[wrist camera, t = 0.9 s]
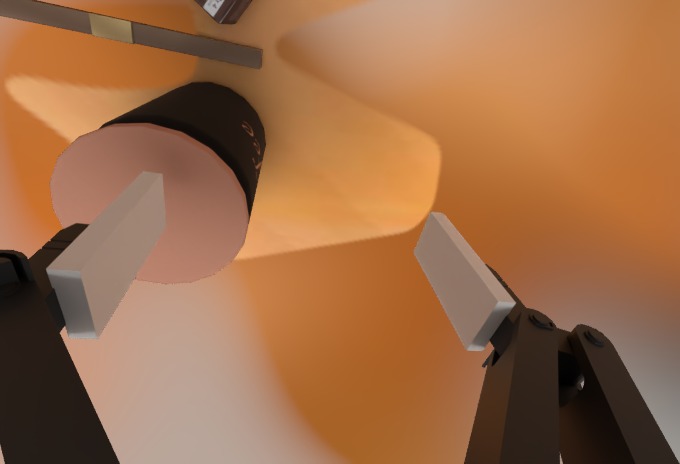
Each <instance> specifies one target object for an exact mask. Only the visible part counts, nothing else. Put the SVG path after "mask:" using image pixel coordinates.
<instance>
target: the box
mask: <svg viewBox="0 0 680 464" xmlns="http://www.w3.org/2000/svg"><path fill="white" fill-rule="evenodd" d="M195 1H196V2H197V3H198V4H199V5H200V6H201V7H202V8H203V9H204V10H205V11H206V12H207V13H208V14H209V15H210V16H211V17H212V18H213V19H214V20H215V21H216V22H217V23H219V24H235V23H236V22H237V20H238V19H239V18H240V16H241V15H242V13H243V12H244V10H245V9H246V8H247V6H248V5H249V4H250V3H251V1H252V0H195Z"/></svg>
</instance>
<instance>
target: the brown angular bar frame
mask: <svg viewBox="0 0 680 464" xmlns="http://www.w3.org/2000/svg"><path fill="white" fill-rule="evenodd" d="M0 16H4V17H9V18H14V19H18V20H23V21H28V22H33V23H38V24H43V25H48V26H53V27H58V28H62V29H67V30H72V31H78V32H82V33H87V34H92V35H93V36H96V37H101V38H107V39H111V40H116V41H121V42H126V43H130V44H134V43H136V44H141V45H145V46H151V47H155V48H160V49H165V50H170V51H175V52H179V53H184V54H190V55H194V56H199V57H204V58H209V59H214V60H218V61H223V62H228V63H233V64H238V65H243V66H248V67H253V68H258V69H260V68H261V67H262V51H263V50H261V49H257V48H252V47H248V46H243V45H238V44H234V43H229V42H225V41H220V40H216V39H211V38H206V37H202V36H197V35H192V34H188V33H183V32H178V31H174V30H170V29H165V28H161V27H156V26H151V25H147V24H142V23H137V22H133V21H128V20H124V19H119V18H115V17H110V16H105V15H101V14H96V13H92V12H87V11H83V10H78V9H73V8H69V7H64V6H60V5H55V4H50V3H46V2H41V1H37V0H0Z"/></svg>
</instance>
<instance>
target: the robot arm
mask: <svg viewBox="0 0 680 464" xmlns="http://www.w3.org/2000/svg"><path fill="white" fill-rule="evenodd" d="M165 228H166V214H165V201H164V188H163V175H162V174H160V173H153V172H146V171H143V172H142V173H141V174H140V175H139V176H138V177H137V178H136V179H135V180H134V181H133V182H132V183H131V184H130V185H129V186H128V187H127V188H126V189H125V190H124V191H123V192H122V193H121V194H120V195H119V196H118V197H117V198H116V199H115V200H114V201H113V202H112V203H111V204H110V205H109V206H108V207H107V208H106V209H105V210H104V211H103V212H102V213H101V214H100V215H99V216H98V217H97V218H96V219H95V220H94V221H93V222H92V223H91V224H81V223H75V224H73V225H71V226H69V227H67V228H64V229H62V230H60V231H59V232H58V233H57V234H56V235H55V236H54V237H53V238H52V239H51V241H48V242H47V243H46V244H45V245H44V246H43V247H42V249H40V250H38V251H37V252H36V253H35V254H34V255H33V256H32V257H31V258H29V259H27V257H26V256H25V255H24V254H23V253H22V252H18V251H14V250H0V445H1V450H2V453H3V457H4V461H5V464H120V463H119V461H118V459H117V456H116V454H115V452H114V450H113V448H112V446H111V443H110V441H109V439H108V437H107V435H106V432H105V430H104V428H103V426H102V424H101V422H100V420H99V418H98V415H97V413H96V411H95V409H94V406H93V404H92V402H91V400H90V398H89V396H88V393H87V391H86V389H85V387H84V385H83V383H82V380H81V378H80V376H79V374H78V372H77V370H76V367H75V365H74V363H73V361H72V359H71V356H70V354H69V352H68V350H67V348H66V346H65V344H64V341H63V339H62V337H61V335H60V331H61V330H62V329H63V327H64V326H65V327H66V330H67V333H68V336H69V338H80V339H98V338H99V336H100V335H101V333H102V331H103V330H104V328H105V326H106V325H107V323H108V321H109V320H110V318H111V317H112V315H113V313H114V311H115V310H116V308H117V306H118V305H119V303H120V302H121V300H122V298H123V297H124V295H125V293H126V292H127V290H128V289H129V287H130V285H131V284H132V282H133V280H134V279H135V277H136V275H137V274H138V272H139V271H140V269H141V267H142V266H143V264H144V262H145V261H146V259H147V257H148V256H149V254H150V252H151V251H152V249H153V248H154V246H155V244H156V243H157V241H158V239H159V238H160V236H161V234H162V233H163V231H164V229H165ZM414 255H415V256H416V258H417V260H418V262H419V264H420V266H421V267H422V269H423V271H424V273H425V275H426V277H427V278H428V280H429V282H430V284H431V286H432V288H433V290H434V291H435V293H436V295H437V297H438V299H439V301H440V302H441V304H442V306H443V308H444V310H445V312H446V314H447V316H448V317H449V319H450V321H451V323H452V325H453V327H454V329H455V330H456V332H457V334H458V336H459V338H460V339H461V341H462V343H463V345H464V347H465V349H466V350H471V351H483V350H484V348H485V347H486V345H487V344H488V342H489V341H490V342H491V343H492V345H493V347H494V350H493V351H492V353H491V354H490V355H489V357H488V358H487V359H486V361H485V362H484V364H483V365H482V367H485V366H486V365H488V366H487V370H486V374H485V379H484V382H483V387H482V391H481V395H480V399H479V403H478V408H477V412H476V416H475V420H474V424H473V429H472V433H471V437H470V441H469V445H468V449H467V453H466V457H465V462H464V464H560V454H561V458H562V461H563V464H679V462H678V460H677V459H676V457H675V455H674V453H673V451H672V449H671V448H670V446H669V444H668V442H667V441H666V439H665V437H664V435H663V433H662V432H661V430H660V428H659V426H658V425H657V423H656V421H655V419H654V417H653V415H652V414H651V412H650V410H649V408H648V407H647V405H646V403H645V401H644V400H643V398H642V396H641V394H640V392H639V391H638V389H637V387H636V385H635V383H634V382H633V380H632V378H631V376H630V375H629V373H628V371H627V369H626V367H625V366H624V364H623V362H622V360H621V358H620V356H619V355H618V353H617V351H616V350H615V348H614V346H613V344H612V343H611V342H610V340H609V339H607V337H605V336H604V334H603V333H601V332H599V331H598V330H596V329H594V328H592V327H589V326H587V325H583V324H580V325H577V326H576V327H575V328H574V329H573V330H572V332H568V331H565V330H562V329H559V328H556V325H555V324H554V323H553V321H552V320H550V319H549V318H548V317H547V316H546V315H544V314H542V313H540V312H539V311H536V310H534V309H529V308H526V307H525V306H524V305H523V304H522V302H521V301H520V300H519V299H518V298H517V296H516V295H515V294H514V293H513V292H512V290H511V289H510V288H508V285H507V284H506V283H505V282H504V281H502V278H501V277H500V276H499V275H498V274H497V272H496V271H494V270H493V269H492V268H491V267H489V266H488V265H487V264H484V263H483V261H482V260H481V259H480V258H479V257H478V255H477V254H476V253H475V252H474V251H473V249H472V248H471V247H470V245H469V244H468V243H467V242H466V241H465V239H464V238H463V237H462V236H461V234H460V233H459V232H458V231H457V229H456V228H455V227H454V226H453V224H452V223H451V222H450V221H449V220H448V218H447V217H446V216H445V215H444V214H443V213H437V212H430V214H429V217H428V219H427V222H426V224H425V226H424V229H423V231H422V233H421V236H420V238H419V240H418V243H417V245H416V248H415V250H414ZM582 381H584V386H583V388H582V387H581V384H580V383H581V382H582Z"/></svg>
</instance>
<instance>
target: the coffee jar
mask: <svg viewBox="0 0 680 464" xmlns="http://www.w3.org/2000/svg"><path fill="white" fill-rule="evenodd" d="M265 146H266V143H265V134H264V128H263V126H262V123H261V121H260V119H259V117H258V114H257V113H256V111H255V110H254V109H253V108H252V107H251V105H250V104H249V103H248V102H247V101H246V100H245V99H244V98H243V97H241V96H240V95H239V94H237V93H236V92H234V91H233V90H231V89H230V88H227V87H224V86H221V85H218V84H214V83H211V82H195V83H190V84H187V85H185V86H182V87H179V88H177V89H174V90H172V91H170V92H168V93H166V94H164V95H162V96H160V97H158V98H156V99H154V100H152V101H150V102H148V103H146V104H144V105H142V106H140V107H138V108H136V109H134V110H132V111H130V112H127V113H125V114H123V115H121V116H119V117H117V118H115V119H113V120H111V121H109V122H107V123H105V124H103V125H102V126H101V127H100V128H99V129H98V130H96V131H93V132H90V133H87V134H85V135H82V136H79V137H78V138H77V139H76V140H75V141H74V142H73V143H72V144H71V145H70V146H69V147H68V148H67V149H66V150H65V151H64V152H63V153H62V154H61V155H60V156H59V157H58V159H57V162H56V165H55V168H54V171H53V174H52V177H51V180H50V189H51V196H52V203H53V210H54V212H55V213H56V215H57V217H58V219H59V221H60V223H61V225H62V227H63V228H67V227H69V226H71V225H73V224H75V223H81V224H91V223H92V222H93V221H94V220H95V219H96V218H97V217H98V216H99V215H100V214H101V213H102V212H103V211H104V210H105V209H106V208H107V207H108V206H109V205H110V204H111V203H112V202H113V201H114V200H115V199H116V198H117V197H118V196H119V195H120V194H121V193H122V192H123V191H124V190H125V189H126V188H127V187H128V186H129V185H130V184H131V183H132V182H133V181H134V180H135V179H136V178H137V177H138V176H139V175H140V174H141V173H142V172H143V171H146V172H153V173H160V174H162V175H163V188H164V201H165V214H166V228H165V229H164V231H163V233H162V234H161V236H160V238H159V239H158V241H157V243H156V244H155V246H154V248H153V249H152V251H151V252H150V254H149V256H148V257H147V259H146V261H145V262H144V264H143V266H142V267H141V269H140V271H139V272H138V274H137V275H136V277H135V279H137V280H140V281H147V282H154V283H161V284H176V283H188V282H194V281H196V280H200V279H202V278H206V277H208V276H211V275H214V274H215V273H217V272H218V271H220V270H221V269H222V268H224V267H225V266H227V265H228V264H229V263H231V262H232V261H233V259H234V258H235V256H236V255H237V254H238V252H239V251H240V249H241V248H242V246H243V245H244V242H245V238H246V233H247V228H248V224H249V220H250V216H251V211H252V206H253V202H254V197H255V192H256V188H257V183H258V178H259V174H260V169H261V165H262V160H263V155H264V151H265Z"/></svg>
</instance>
